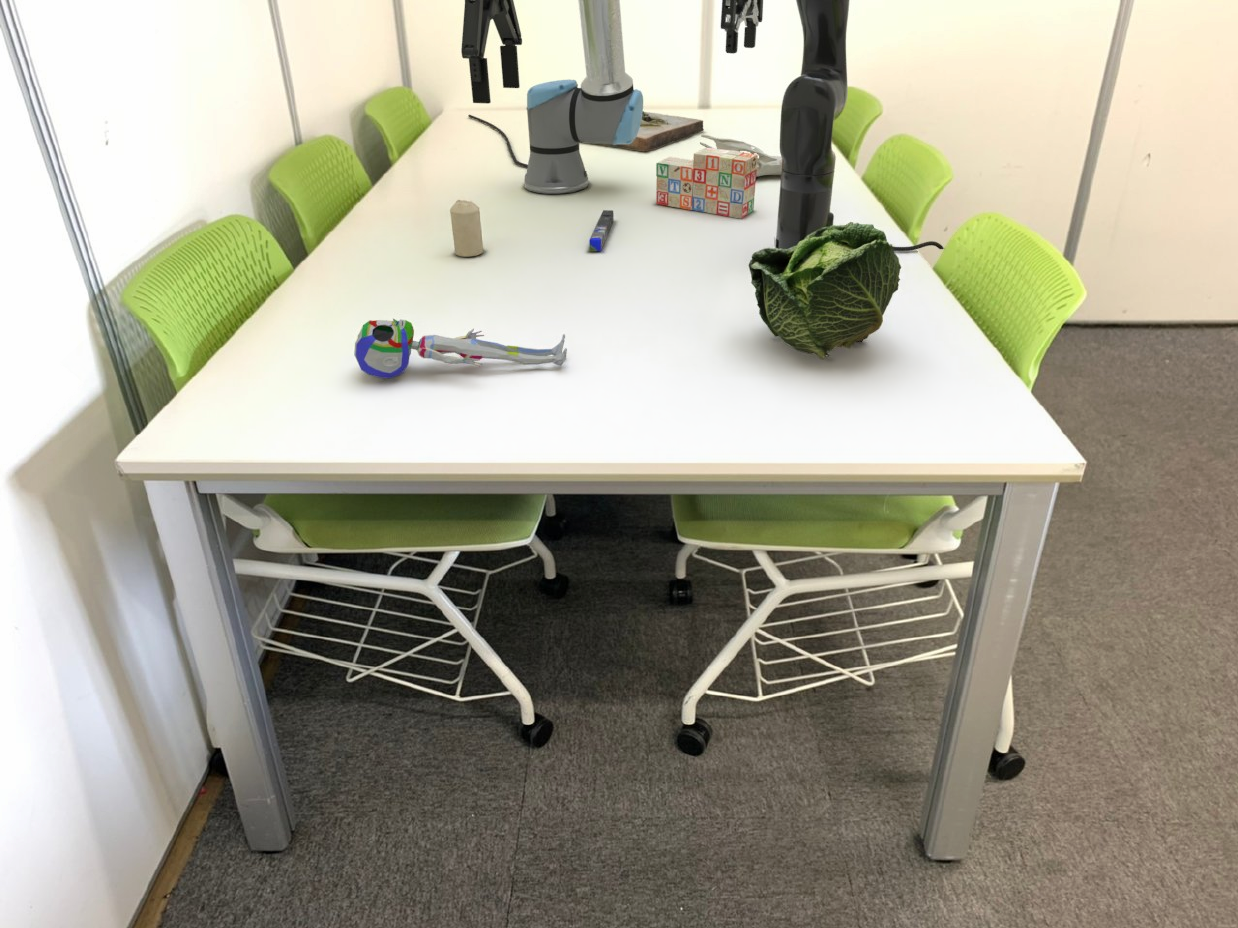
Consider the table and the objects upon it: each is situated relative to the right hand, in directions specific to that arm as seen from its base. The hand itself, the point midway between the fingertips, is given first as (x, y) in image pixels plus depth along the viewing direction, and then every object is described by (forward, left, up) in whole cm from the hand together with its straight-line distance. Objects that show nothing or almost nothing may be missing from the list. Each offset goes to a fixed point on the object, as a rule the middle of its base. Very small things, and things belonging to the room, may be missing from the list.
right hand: (740, 50), depth 178 cm
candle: (+58, +9, -32) cm, 67 cm away
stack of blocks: (+4, -5, -32) cm, 33 cm away
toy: (+66, +60, -32) cm, 95 cm away
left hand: (+52, +23, -1) cm, 58 cm away
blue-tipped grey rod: (+31, +7, -32) cm, 45 cm away
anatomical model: (-16, -27, -32) cm, 45 cm away
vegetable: (+13, +68, -32) cm, 76 cm away
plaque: (-1, -78, -32) cm, 85 cm away
